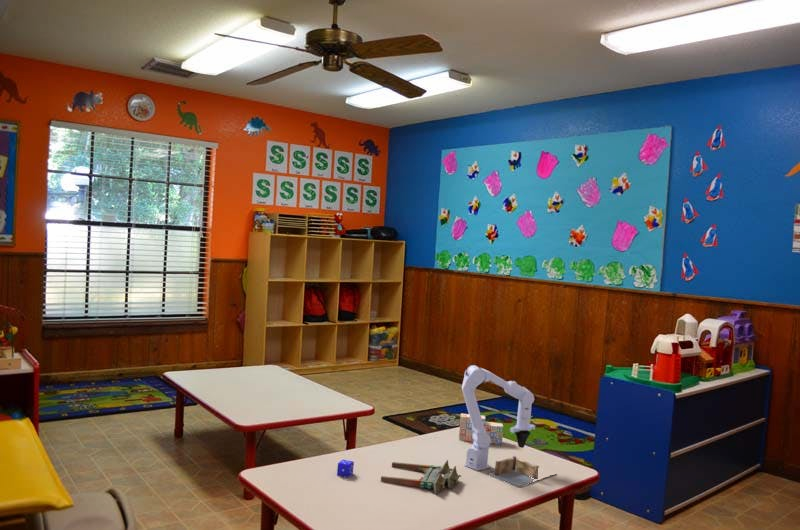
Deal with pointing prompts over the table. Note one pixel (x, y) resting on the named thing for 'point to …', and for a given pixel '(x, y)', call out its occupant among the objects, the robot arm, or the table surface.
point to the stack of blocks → (491, 428)
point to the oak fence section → (526, 468)
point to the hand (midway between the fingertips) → (521, 447)
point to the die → (345, 468)
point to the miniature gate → (426, 476)
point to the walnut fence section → (505, 466)
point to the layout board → (513, 478)
